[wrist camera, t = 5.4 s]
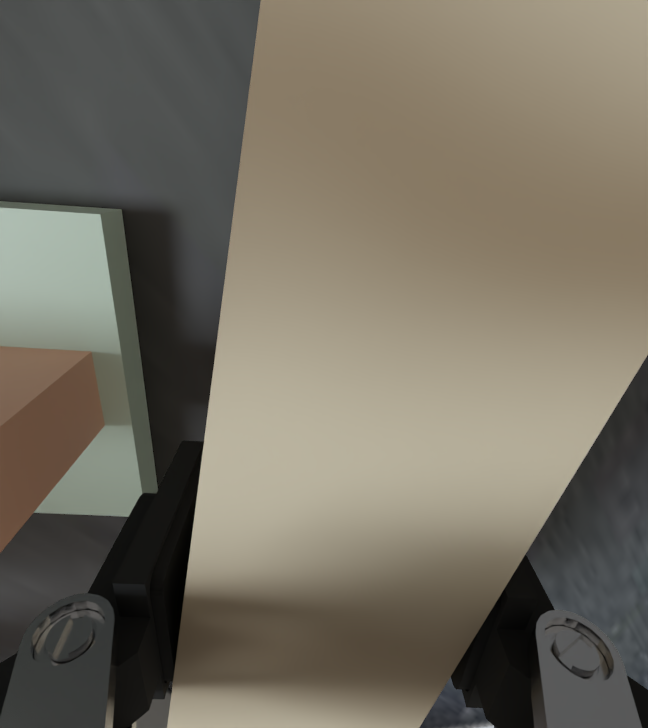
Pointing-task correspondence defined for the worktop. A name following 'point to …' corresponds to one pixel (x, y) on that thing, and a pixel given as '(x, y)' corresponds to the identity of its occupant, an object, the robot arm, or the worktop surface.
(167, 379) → the worktop surface
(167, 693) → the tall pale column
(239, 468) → the beam
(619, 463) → the worktop surface
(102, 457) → the ridge stand
